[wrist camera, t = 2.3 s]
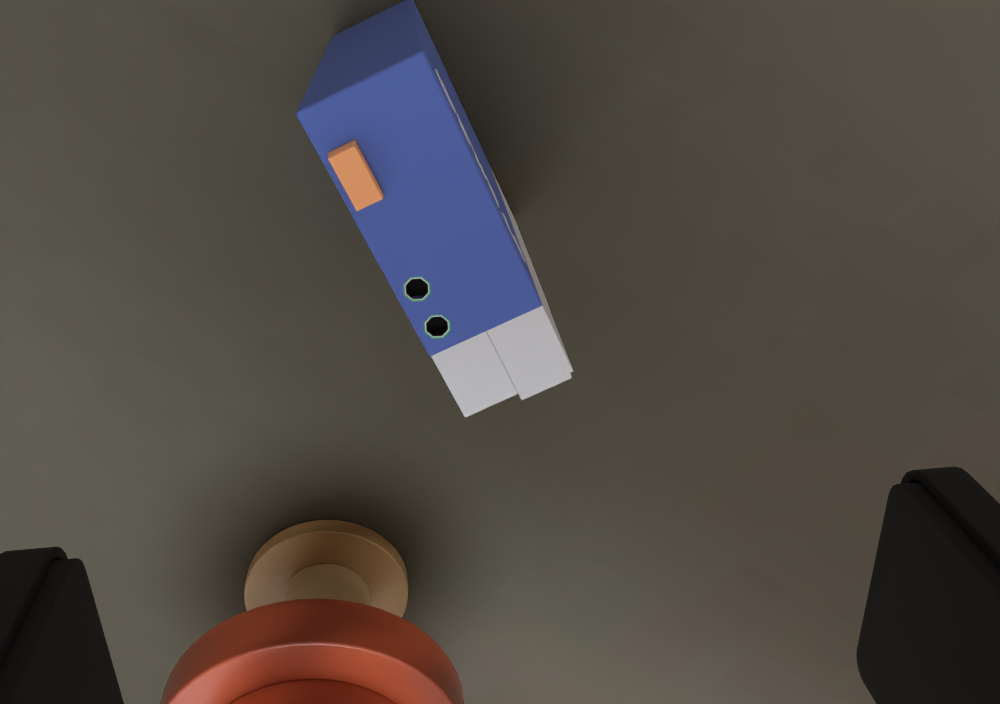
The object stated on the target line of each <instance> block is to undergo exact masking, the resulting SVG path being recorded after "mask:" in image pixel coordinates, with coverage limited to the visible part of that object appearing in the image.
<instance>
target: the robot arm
mask: <svg viewBox="0 0 1000 704" xmlns="http://www.w3.org/2000/svg"><path fill="white" fill-rule="evenodd" d="M857 664H858V669H859V672H860V675H861V678H862V680H863V682H864V684H865V686H866V687H867V689H868V690H869V692H870V694H871V695H872V697H873V699H874V700H875V702H876V703H877V704H1000V504H999V503H998V502H997V501H996V500H995V499H994V498H993V497H992V496H991V495H990V494H989V493H988V492H987V491H986V490H985V489H984V488H983V487H982V486H981V485H980V484H979V483H978V482H977V481H975V480H974V479H973V478H972V477H971V476H970V475H969V474H968V473H967V472H966V471H964V470H963V469H962V468H958V467H945V468H934V469H923V470H912V471H910V472H907V473H906V474H905V476H904V477H903V478H902V481H901V484H896V485H894V486H893V487H892V488H891V490H890V493H889V496H888V501H887V505H886V510H885V515H884V520H883V525H882V530H881V535H880V539H879V544H878V549H877V554H876V559H875V564H874V569H873V574H872V578H871V583H870V588H869V593H868V598H867V603H866V608H865V613H864V617H863V622H862V627H861V632H860V637H859V642H858V647H857ZM0 704H124V703H123V699H122V696H121V692H120V689H119V685H118V682H117V678H116V674H115V671H114V667H113V664H112V660H111V657H110V653H109V650H108V646H107V643H106V639H105V636H104V632H103V629H102V625H101V622H100V618H99V615H98V611H97V608H96V604H95V601H94V597H93V594H92V590H91V587H90V583H89V580H88V576H87V573H86V569H85V567H84V564H83V562H82V561H81V560H80V559H77V558H75V559H68V558H67V556H66V553H65V552H64V551H63V550H62V548H59V547H49V548H37V549H26V550H15V551H6V552H3V553H1V554H0Z"/></svg>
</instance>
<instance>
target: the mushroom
mask: <svg viewBox="0 0 1000 704" xmlns="http://www.w3.org/2000/svg"><path fill="white" fill-rule="evenodd" d="M244 601H245V606H246V610H247V611H246V612H243V613H240V614H238V615H236V616H234V617H232V618H230V619H228V620H226V621H224V622H222V623H220V624H219V625H217V626H216V627H214V628H213V629H211V630H209V631H208V632H206V633H205V634H204V635H203V636H202V637H200V638H199V639H198V640H197V641H196V642H195V643H194V644H192V645H191V646H190V648H189V649H188V650H187V651H186V652H185V653H184V654H183V656H182V657H181V658H180V659H179V661H178V662H177V664H176V666H175V667H174V669H173V670H172V672H171V674H170V677H169V679H168V681H167V684H166V686H165V689H164V693H163V696H162V700H161V703H160V704H464V700H463V693H462V686H461V683H460V680H459V677H458V674H457V672H456V670H455V668H454V666H453V665H452V663H451V661H450V659H449V658H448V657H447V655H446V654H445V653H444V651H443V650H442V649H441V647H440V646H439V645H438V644H437V643H436V642H435V641H434V640H433V639H432V638H431V637H430V636H428V635H427V634H426V633H425V632H423V631H422V630H420V629H419V628H418V627H416V626H415V625H413V624H412V623H410V622H408V621H406V620H404V619H403V618H402V617H403V615H404V612H405V609H406V607H407V601H408V576H407V570H406V567H405V564H404V562H403V560H402V558H401V556H400V555H399V553H398V552H397V550H396V549H395V548H394V547H393V546H392V545H391V544H390V543H389V542H388V541H387V540H386V539H385V538H383V537H382V536H381V535H379V534H378V533H376V532H374V531H373V530H371V529H368V528H366V527H364V526H361V525H358V524H355V523H351V522H346V521H340V520H316V521H309V522H305V523H301V524H297V525H295V526H292V527H289V528H287V529H285V530H283V531H281V532H279V533H278V534H276V535H275V536H273V537H272V538H271V539H269V540H268V541H267V542H266V543H265V544H264V545H263V546H262V547H261V548H260V549H259V550H258V552H257V553H256V555H255V556H254V558H253V559H252V562H251V564H250V566H249V570H248V573H247V578H246V582H245V588H244Z"/></svg>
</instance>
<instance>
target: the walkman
mask: <svg viewBox="0 0 1000 704" xmlns="http://www.w3.org/2000/svg"><path fill="white" fill-rule="evenodd" d="M296 115H297V117H298V118H299V120H300V122H301V124H302V126H303V127H304V129H305V131H306V133H307V135H308V136H309V138H310V140H311V142H312V144H313V146H314V147H315V149H316V151H317V153H318V155H319V156H320V158H321V160H322V162H323V164H324V166H325V167H326V169H327V171H328V173H329V175H330V176H331V178H332V180H333V182H334V184H335V186H336V187H337V189H338V191H339V193H340V195H341V196H342V198H343V200H344V202H345V204H346V206H347V207H348V209H349V211H350V213H351V215H352V216H353V218H354V220H355V222H356V224H357V226H358V227H359V229H360V231H361V233H362V235H363V236H364V238H365V240H366V242H367V244H368V246H369V247H370V249H371V251H372V253H373V255H374V256H375V258H376V260H377V262H378V264H379V266H380V267H381V269H382V271H383V273H384V275H385V276H386V278H387V280H388V282H389V284H390V285H391V287H392V289H393V291H394V293H395V295H396V296H397V298H398V300H399V302H400V304H401V305H402V307H403V309H404V311H405V313H406V315H407V316H408V318H409V320H410V322H411V324H412V325H413V327H414V329H415V331H416V333H417V335H418V336H419V338H420V340H421V342H422V344H423V345H424V347H425V349H426V351H427V353H428V355H429V356H431V357H432V359H433V360H434V362H435V364H436V366H437V368H438V369H439V371H440V373H441V375H442V377H443V379H444V380H445V382H446V384H447V386H448V388H449V389H450V391H451V393H452V395H453V397H454V399H455V400H456V402H457V404H458V406H459V408H460V409H461V411H462V413H463V415H464V417H468V416H470V415H472V414H474V413H476V412H479V411H481V410H483V409H485V408H488V407H490V406H492V405H494V404H496V403H499V402H501V401H503V400H505V399H507V398H510V397H512V396H514V395H516V394H519V396H520V398H521V400H524V399H526V398H528V397H530V396H533V395H535V394H537V393H539V392H542V391H544V390H546V389H548V388H551V387H553V386H555V385H557V384H560V383H562V382H564V381H566V380H569V379H571V378H572V377H571V374H570V373H571V372H573V369H572V366H571V364H570V361H569V358H568V356H567V353H566V351H565V348H564V346H563V343H562V340H561V338H560V335H559V333H558V330H557V328H556V325H555V322H554V320H553V317H552V315H551V312H550V310H549V306H548V303H547V301H546V298H545V296H544V293H543V291H542V288H541V285H540V283H539V280H538V278H537V275H536V273H535V270H534V267H533V265H532V262H531V260H530V257H529V255H528V252H527V249H526V247H525V244H524V242H523V239H522V237H521V234H520V231H519V229H518V226H517V224H516V221H515V219H514V217H513V214H512V212H511V210H510V208H509V206H508V204H507V201H506V199H505V197H504V195H503V193H502V191H501V188H500V186H499V184H498V182H497V180H496V178H495V175H494V173H493V171H492V169H491V167H490V165H489V162H488V160H487V158H486V156H485V154H484V152H483V149H482V147H481V145H480V143H479V141H478V139H477V136H476V134H475V132H474V130H473V128H472V126H471V123H470V121H469V119H468V117H467V115H466V113H465V110H464V108H463V106H462V104H461V102H460V100H459V97H458V95H457V93H456V91H455V89H454V87H453V84H452V82H451V80H450V78H449V76H448V74H447V71H446V69H445V67H444V65H443V63H442V61H441V58H440V56H439V54H438V52H437V50H436V48H435V45H434V43H433V41H432V39H431V37H430V35H429V33H428V30H427V28H426V26H425V24H424V22H423V20H422V17H421V15H420V13H419V11H418V9H417V7H416V4H415V2H414V0H404V1H402V2H400V3H398V4H396V5H394V6H392V7H390V8H388V9H386V10H384V11H382V12H380V13H378V14H376V15H374V16H372V17H370V18H368V19H366V20H364V21H362V22H360V23H358V24H356V25H354V26H352V27H350V28H348V29H346V30H344V31H342V32H340V33H338V34H336V35H334V36H332V38H331V40H330V43H329V45H328V47H327V49H326V51H325V53H324V55H323V57H322V60H321V62H320V64H319V66H318V68H317V70H316V72H315V74H314V76H313V79H312V81H311V83H310V85H309V87H308V89H307V91H306V93H305V96H304V98H303V100H302V102H301V104H300V106H299V108H298V110H297V113H296ZM517 392H518V393H517Z"/></svg>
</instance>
